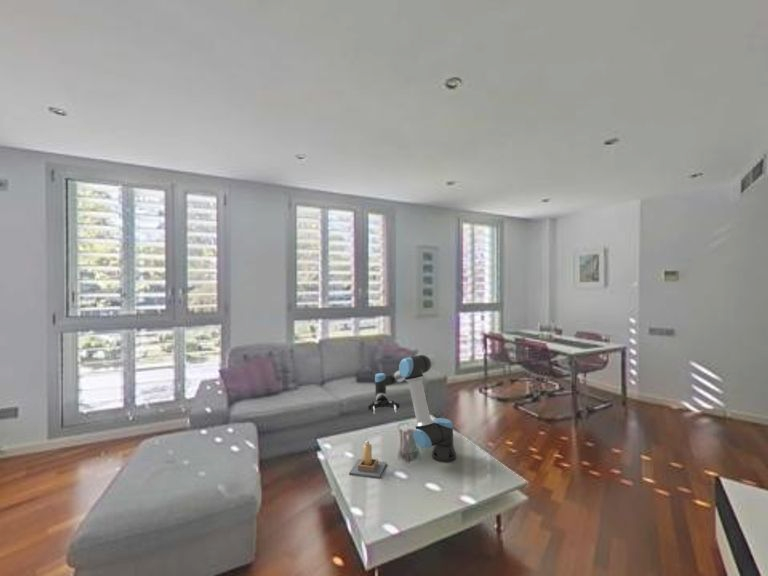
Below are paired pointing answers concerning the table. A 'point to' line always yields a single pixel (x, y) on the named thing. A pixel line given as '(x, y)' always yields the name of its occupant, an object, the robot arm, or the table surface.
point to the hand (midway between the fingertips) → (385, 411)
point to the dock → (368, 469)
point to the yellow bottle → (367, 454)
